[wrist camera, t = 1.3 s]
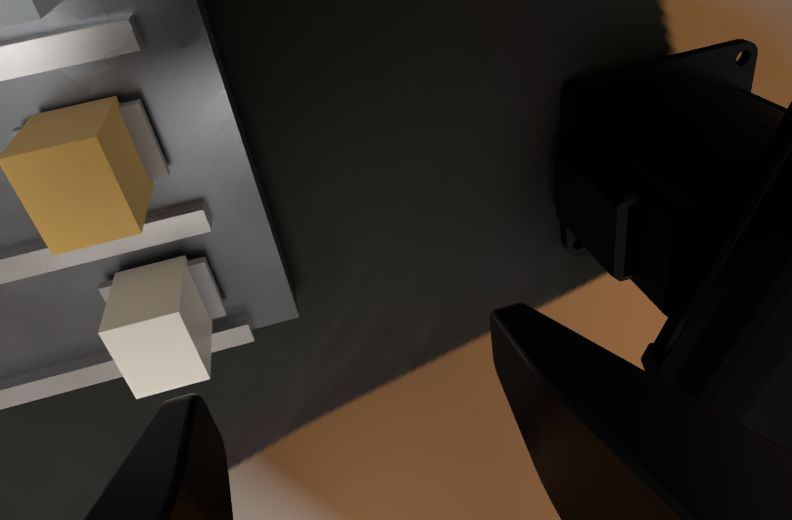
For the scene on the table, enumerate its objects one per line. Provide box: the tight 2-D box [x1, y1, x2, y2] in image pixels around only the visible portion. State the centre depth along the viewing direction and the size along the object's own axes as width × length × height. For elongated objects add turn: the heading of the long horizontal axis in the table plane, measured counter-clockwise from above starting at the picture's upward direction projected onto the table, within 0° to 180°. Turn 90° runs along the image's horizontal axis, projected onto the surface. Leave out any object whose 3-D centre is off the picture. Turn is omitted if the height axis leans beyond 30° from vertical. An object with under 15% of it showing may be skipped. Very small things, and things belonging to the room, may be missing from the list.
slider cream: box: [98, 255, 227, 399], centre depth 17 cm, size 3×2×3 cm
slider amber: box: [0, 96, 170, 256], centre depth 14 cm, size 3×2×3 cm
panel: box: [0, 0, 299, 409], centre depth 16 cm, size 12×14×2 cm
